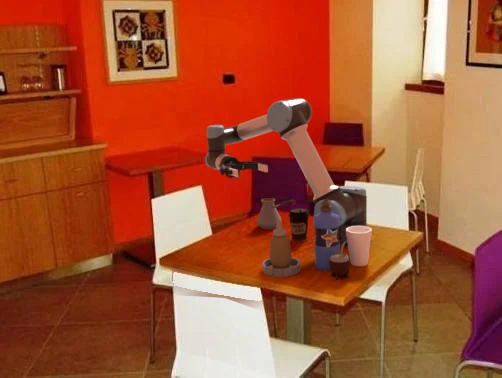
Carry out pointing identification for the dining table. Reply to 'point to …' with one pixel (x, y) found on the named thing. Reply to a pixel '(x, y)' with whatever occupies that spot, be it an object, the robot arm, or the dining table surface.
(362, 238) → the foam cup
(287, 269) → the dish
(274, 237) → the squeeze bottle
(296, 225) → the coffee cup
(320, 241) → the water bottle
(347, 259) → the mate gourd
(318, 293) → the dining table surface
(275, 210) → the coffee pot
